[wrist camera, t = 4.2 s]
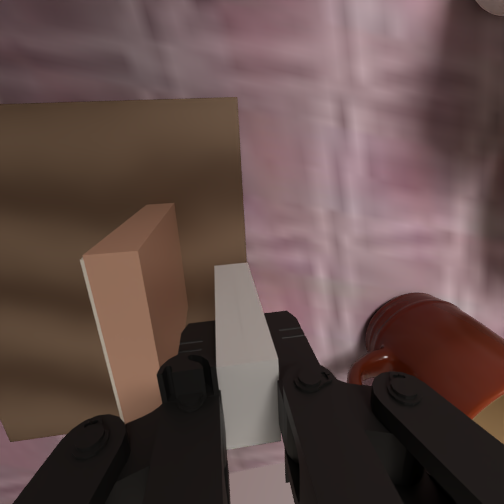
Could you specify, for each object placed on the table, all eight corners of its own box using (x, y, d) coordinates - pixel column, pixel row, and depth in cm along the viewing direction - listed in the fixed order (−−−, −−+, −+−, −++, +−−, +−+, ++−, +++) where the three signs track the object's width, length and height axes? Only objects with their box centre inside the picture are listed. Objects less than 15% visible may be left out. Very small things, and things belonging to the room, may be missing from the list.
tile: (143, 204, 17) (75, 256, 9) (174, 202, 17) (137, 250, 9) (160, 309, 19) (121, 430, 11) (188, 306, 20) (170, 423, 11)
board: (-110, 111, 15) (-136, 108, 14) (235, 100, 17) (237, 97, 16) (20, 427, 22) (10, 442, 21) (252, 395, 24) (254, 407, 23)
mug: (462, 275, 23) (640, 363, 14) (439, 366, 26) (573, 492, 16) (316, 283, 22) (399, 388, 12) (308, 378, 24) (371, 524, 15)
